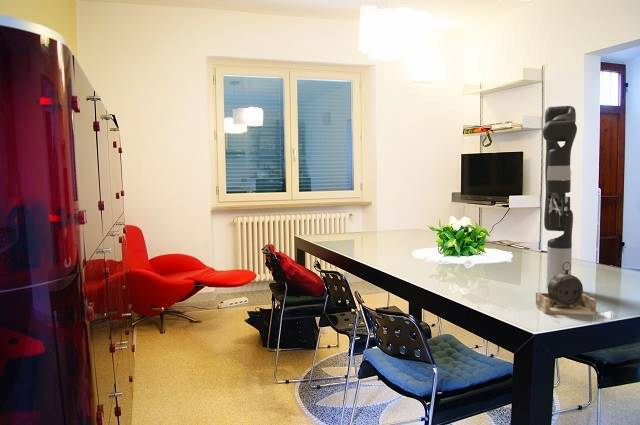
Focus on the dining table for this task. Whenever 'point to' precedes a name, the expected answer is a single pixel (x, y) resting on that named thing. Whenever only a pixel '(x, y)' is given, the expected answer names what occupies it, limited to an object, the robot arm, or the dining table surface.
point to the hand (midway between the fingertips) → (557, 225)
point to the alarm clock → (565, 289)
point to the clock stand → (582, 306)
